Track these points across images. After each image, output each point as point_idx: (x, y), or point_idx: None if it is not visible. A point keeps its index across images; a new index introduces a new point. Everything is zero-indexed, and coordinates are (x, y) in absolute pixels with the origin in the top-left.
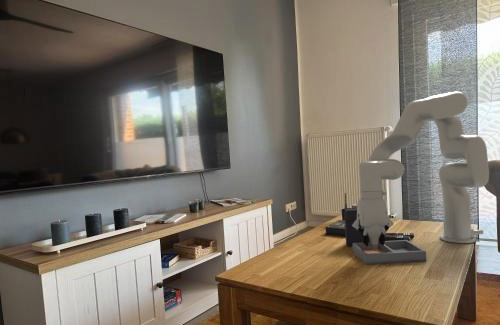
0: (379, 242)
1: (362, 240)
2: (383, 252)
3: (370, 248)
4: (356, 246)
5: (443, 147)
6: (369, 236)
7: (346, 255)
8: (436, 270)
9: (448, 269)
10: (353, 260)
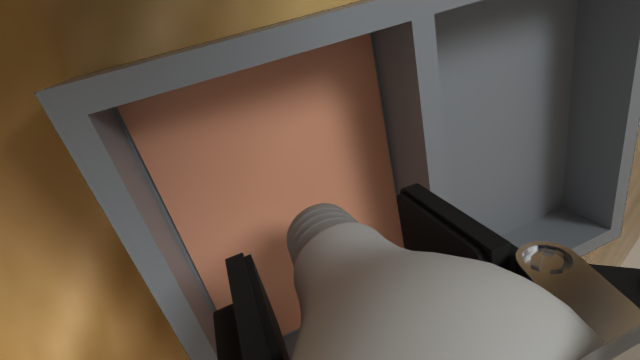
0: (403, 212)
1: (214, 325)
2: (382, 136)
3: (287, 243)
4: (125, 238)
5: None
6: None
7: (16, 201)
8: None
9: None
10: (121, 312)
